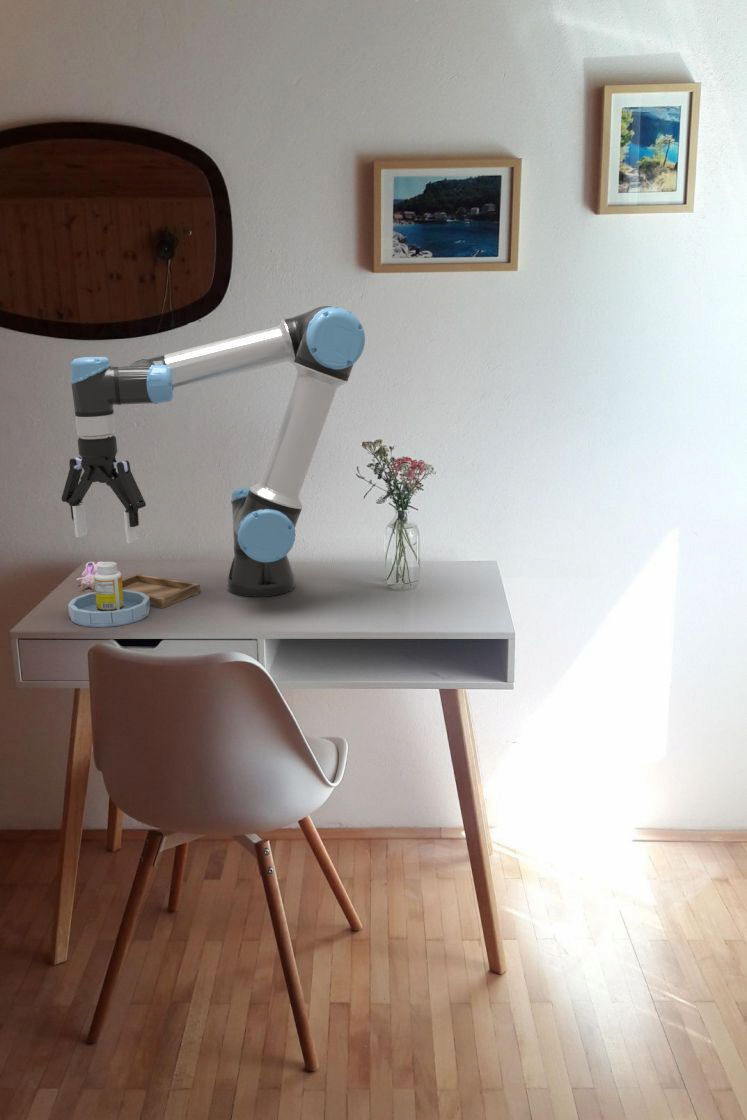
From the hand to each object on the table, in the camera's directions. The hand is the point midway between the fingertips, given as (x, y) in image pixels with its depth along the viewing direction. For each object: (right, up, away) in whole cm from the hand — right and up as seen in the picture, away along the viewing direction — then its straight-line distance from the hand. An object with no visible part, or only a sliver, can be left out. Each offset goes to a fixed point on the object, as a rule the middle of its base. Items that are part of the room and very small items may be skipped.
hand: (106, 539), depth 219 cm
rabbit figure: (-10, -10, +28) cm, 31 cm away
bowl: (0, -16, +4) cm, 16 cm away
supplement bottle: (0, -15, +4) cm, 16 cm away
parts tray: (+5, -12, +18) cm, 22 cm away
